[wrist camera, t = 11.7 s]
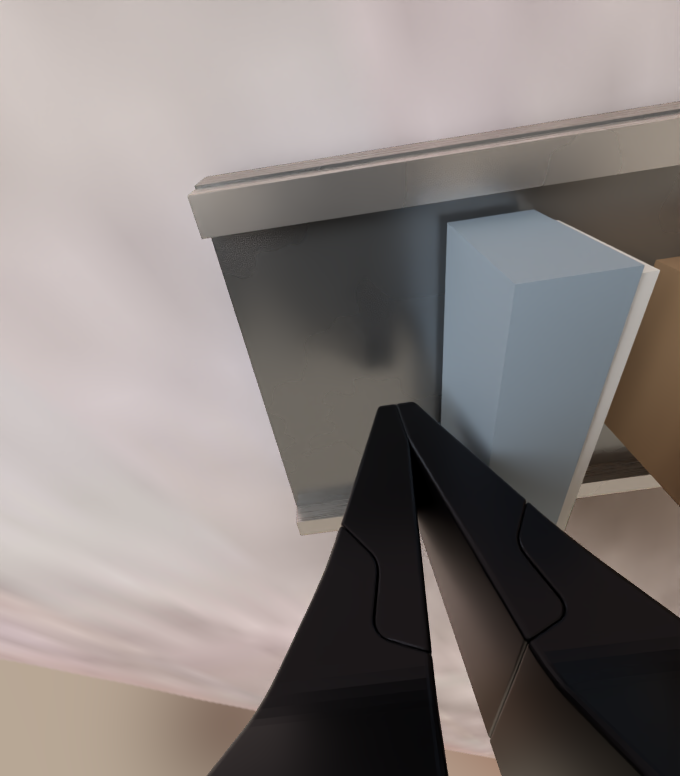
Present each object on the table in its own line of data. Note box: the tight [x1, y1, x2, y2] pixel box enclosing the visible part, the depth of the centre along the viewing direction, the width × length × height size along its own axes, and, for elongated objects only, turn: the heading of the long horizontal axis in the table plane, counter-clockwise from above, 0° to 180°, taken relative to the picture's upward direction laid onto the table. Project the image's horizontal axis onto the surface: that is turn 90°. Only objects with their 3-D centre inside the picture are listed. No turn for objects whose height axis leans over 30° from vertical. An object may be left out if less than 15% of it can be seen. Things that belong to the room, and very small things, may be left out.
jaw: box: [441, 209, 660, 531], centre depth 8 cm, size 2×8×3 cm, turn 8°
